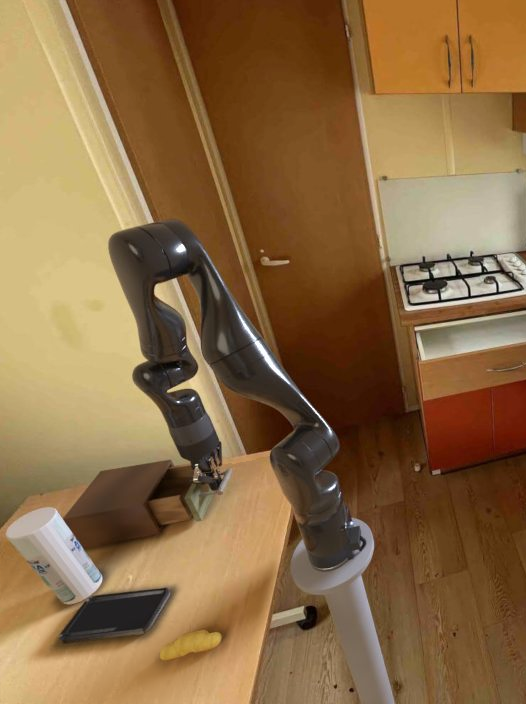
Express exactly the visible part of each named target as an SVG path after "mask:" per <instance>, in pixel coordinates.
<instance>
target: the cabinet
mask: <svg viewBox="0 0 526 704" xmlns="http://www.w3.org/2000/svg"><path fill="white" fill-rule="evenodd" d="M172 466H175V465H174V463H173V461H172V459H165V460H160V461H153V462H147V463H142V464H141V463H140V464H135V465H128V466H123V467H117V468H110V469H104V470H100V471H99V472H98V474H97V475H96V476H95V477H94V479H92V481H91V483H89V485H88V486H87V487H86V488H85V490H84V491H83V493H82V494H81V495H80V496H79V497H78V499H77V500H76V501H75V503H74V504H73V505H72V506H71V507H70V508H69V510H68V511H67V513H66V514H65V515H64V516H63V517H62V519H63V520H64V522H65V523H66V524H67V526H68V527H69V529H70V530H71V532H72V533H73V535H74V536H75V537H76V539H77V540H78V542H79V543H80V545H81V546H82V547H83V549H84V550H85V549H89V548H94V547H100V546H105V545H109V544H113V543H119V542H125V541H129V540H135V539H140V538H145V537H150V536H155V535H160V534H161V533H162V530H163V528H164V526H166V524H164V525H159V526H158V524H157V523H156V521H155V519H154V517H153V515H152V514H151V512H150V510H149V508H148V507H147V505H146V504H147V502H148V500H149V499H150V497H151V495H152V494H153V492H154V490H155V489H156V487H157V486H158V484H159V482H160V481H161V479H162V477H163V476H164V474H165V473H166V471H167V469H168V468H169V467H172Z"/></svg>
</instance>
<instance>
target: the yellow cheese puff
mask: <svg viewBox="0 0 526 704" xmlns="http://www.w3.org/2000/svg"><path fill="white" fill-rule="evenodd" d="M221 641H222V634H221V633H220V632H218V631H213V632H208V631H207V630H206V629H200V630H195V631H191V632H187V633H184V634H181V635H180V636H179V637H178V638H177V639H176V640H175V641H173V642H169V643H167V644H165V645H164V646H163V647H162V648H161V650H160V651H159V658H160V659H161V660H163V661H169V660H173V659H177V658H181V657H185V656H186V655H188V654H190V653H193V654H194V653H200V652H204V651H209V650H213V649H215V648H216V647H217V646H218V645H220V643H221Z"/></svg>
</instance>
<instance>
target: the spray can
mask: <svg viewBox="0 0 526 704" xmlns="http://www.w3.org/2000/svg"><path fill="white" fill-rule="evenodd" d="M5 537H6V539H7V540H8V541H9V542H10V544H11V545H13V547H14V548H15V550H16V551H17V552H18V553H19V554H20V555H21V556H22V557H23V559H24V560H25V561H26V562H27V563H28V565H29V566H30V567H31V568H32V569H33V570H34V571H35V573H36V574H37V575H38V577H40V579H41V580H42V581H43V582H44V584H46V586H47V587H48V588H49V589H50V590H51V592H52V593H53V594H54V595H55V596H56V598H58V600H59V601H60V603H62V604H65V605H74V604H77V603H79V602H81V601H84V600H87V599H88V598H90V597H91V596H92V595H93V594H94V593H95V592H96V591H97V590H99V587H100V586H101V585H102V582H103V575H102V573H101V572H100V571H99V568H97V567H96V565H95V563H94V562H93V560H92V559H91V557H90V556H89V555H88V553H87V552H86V550H85V548H84V549H83V547H82V546H81V545H80V543H79V542H78V540H77V539H76V537H75V536H74V535H73V533H72V532H71V530H70V529H69V527H68V526H67V524H66V523H65V522H64V520H63V517H62V516H61V514H60V513H59V511H58V510H57V509H56V508H55V507H52V506H46V507H45V506H44V507H40V508H37V509H34V510H32V511H29V512H27V513H25V514H23V515H22V516H20V517H19V518H17V519H16V520H15V521H13V522H12V523H11V524H10V525H9V526H8V528H7V529H6V531H5Z"/></svg>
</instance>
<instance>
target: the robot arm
mask: <svg viewBox="0 0 526 704" xmlns="http://www.w3.org/2000/svg"><path fill="white" fill-rule="evenodd" d="M107 249H108V250H107V251H108V255H109V258H110V262H111V264H112V265H111V266H112V267H113V270H114V272H115V275H116V278H117V280H118V282H119V285H120V288H121V290H122V292H123V294H124V297H125V299H126V301H127V304H128V306H129V308H130V310H131V312H132V316H133V317H134V320H135V323H136V327H137V334H138V341H139V348H140V352H141V355H142V357H143V358H144V359H146V361H143V362H141V363H139V364H137V365H136V366H135V367H134V368H133V370H132V373H131V378H132V382H133V385H135V386H136V387H137V388H138V389H139V390H140V391H141V392H142V393H143V394H144V395H145V396H147V398H149V399H150V400H151V401H152V402H153V404H154V405H155V406H156V407H157V408H158V409H159V411H160V413H161V415H162V417H163V419H164V421H165V424H166V426H167V429H168V433H169V435H170V437H171V439H172V441H173V444H174V445H175V448H176V449H177V452H178V454H179V456H180V458H182V459H184V460H186V461H188V462H190V463H191V468H192V470H194V476H193V477H191V478H190V479H189V482H190V483H192V484H198V485H204V484H209V486H210V488H211V490H212V491H215V490H218V487H219V485H220V483H221V481H222V479H223V477H222V475H220V474H219V473H220V472H221V468H220V467H222V466H223V450H222V449H223V448H222V441H220V438H219V437H218V436H219V435H218V433H217V430H216V429H215V426H214V423H213V421H212V419H211V416H210V415H209V414H208V412H207V410H206V408H205V405H204V404H203V401H202V398H201V396H200V394H199V392H198V391H197V390H195V389H194V388H181V389H176V390H172V391H170V392H168V391H169V390H171V389H174V388H175V387H178V386H179V385H182V384H183V383H186V382H188V381H190V380H191V379H193V378H194V377H195V376H197V374H198V371H199V364H198V362H197V360H196V358H195V356H194V355H193V354H192V353H191V350H190V348H189V346H188V340H187V339H188V337H187V326H186V322H185V319H184V318H183V316H182V314H181V313H180V312H179V311H178V310H177V309H176V308H174V307H173V306H172V305H170V304H168V303H166V302H165V301H163V300H162V299H160V298H159V297H158V296H156V293H155V289H156V285H160V284H163V283H166V282H168V281H172V280H175V279H178V278H180V277H183V276H185V277H186V278H187V280H188V281H189V282H190V284H191V286H192V288H193V290H194V291H195V294H196V296H197V298H198V299H197V300H198V302H199V308H200V333H199V334H200V338H199V339H200V340H199V341H200V350H201V351H200V352H201V355H202V357H203V360H204V361H205V362H206V364H207V365H208V366H209V368H210V369H211V370H212V371H213V373H214V374H215V375H216V377H217V379H219V381H220V382H221V383H222V384H223V386H224V387H225V388H227V389H228V390H229V391H231V392H233V393H235V394H237V395H240V396H242V397H244V398H247V399H249V400H252V401H255V402H259V403H262V404H264V405H266V406H268V407H271V408H273V409H275V410H276V411H278V412H279V413H280V414H281V415H282V416H284V418H285V419H287V421H288V422H289V423H290V424H291V426H292V427H293V429H294V430H292V431H291V432H290V433H289V434H287V435H286V436H285V437H284V438H283V439H282V440H280V441H279V442H278V443H277V444H276V445H274V446H273V447H272V448H271V450H270V451H269V463H270V467H271V469H272V471H273V474H274V476H275V477H276V480H277V482H278V485H279V487H280V489H281V491H282V494H283V495H284V497H285V499H286V500H287V502H288V503H289V505H290V507H291V509H292V512H293V515H294V518H295V522H296V524H297V527H298V530H299V532H300V536H301V540H302V539H303V542H304V545H305V548H306V551H307V553H308V557H309V561H310V564H311V566H312V567H313V568H314V569H316V570H318V571H321V572H327V571H332V570H335V569H337V568H339V567H341V566H342V565H344V564H345V563H346V562H347V561H348V560H351V559H353V558H354V552H355V550H359V551H360V552H361V551H362V550H363V549H364V547H365V546H366V539H365V538H364V537H362V536H361V529H360V526H355V527H354V525H353V521H352V518H353V517H352V514H351V510H350V507H349V506H348V505H346V502H345V499H344V495H343V490H342V487H341V483H340V480H339V477H338V476H337V475H336V474H335V473H334V472H332V471H330V470H326V469H325V468H326V467H328V465H329V464H330V463H331V462H332V461H333V460H334V458H336V456H337V455H338V454H339V452H340V449H341V444H340V443H341V442H340V440H339V437H338V436H337V434H336V432H335V431H334V430H333V428H332V427H331V426H330V424H329V423H328V422H327V420H326V419H325V418H324V417H323V416H322V415H321V414H320V413H319V411H318V410H317V409H316V408H315V407H314V406H313V405H312V403H311V402H310V401H309V400H308V398H307V397H306V396H305V395H304V394H303V393H302V391H301V390H300V389H299V388H298V386H297V385H296V383H295V381H293V379H292V378H291V376H290V375H289V374H288V372H287V371H286V370H285V368H284V367H283V365H282V364H281V362H280V361H279V359H278V357H277V356H276V354H275V353H274V351H273V350H272V349H271V347H270V345H269V344H268V342H266V340H265V338H264V337H263V335H262V334H261V333H260V332H259V330H258V329H257V328H256V327H255V326H254V324H253V323H252V321H251V320H250V318H249V317H248V316H247V314H246V313H245V311H244V310H243V308H242V307H241V305H240V304H239V302H238V301H237V300H236V298H235V297H234V295H233V294H232V291H231V290H230V289H229V287H228V285H227V283H226V282H225V280H224V278H223V276H222V275H221V272H219V270H218V268H217V266H216V265H215V262H214V261H213V259H212V257H211V256H210V254H209V253H208V250H207V249H206V248H205V246H204V245H203V242H202V241H201V240H200V238H199V236H197V234H196V233H195V232H194V230H192V228H190V226H188V224H186V223H185V222H183V221H182V220H179V219H176V218H166V219H162V220H157V221H153V222H149V223H145V224H141V225H137V226H131V227H128V228H125V229H121V230H118V231H116V232H114V233H113V234H111V235H110V237H109V238H108V242H107ZM361 541H362V542H363V544H362V546H361V547H360V545H361Z"/></svg>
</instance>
